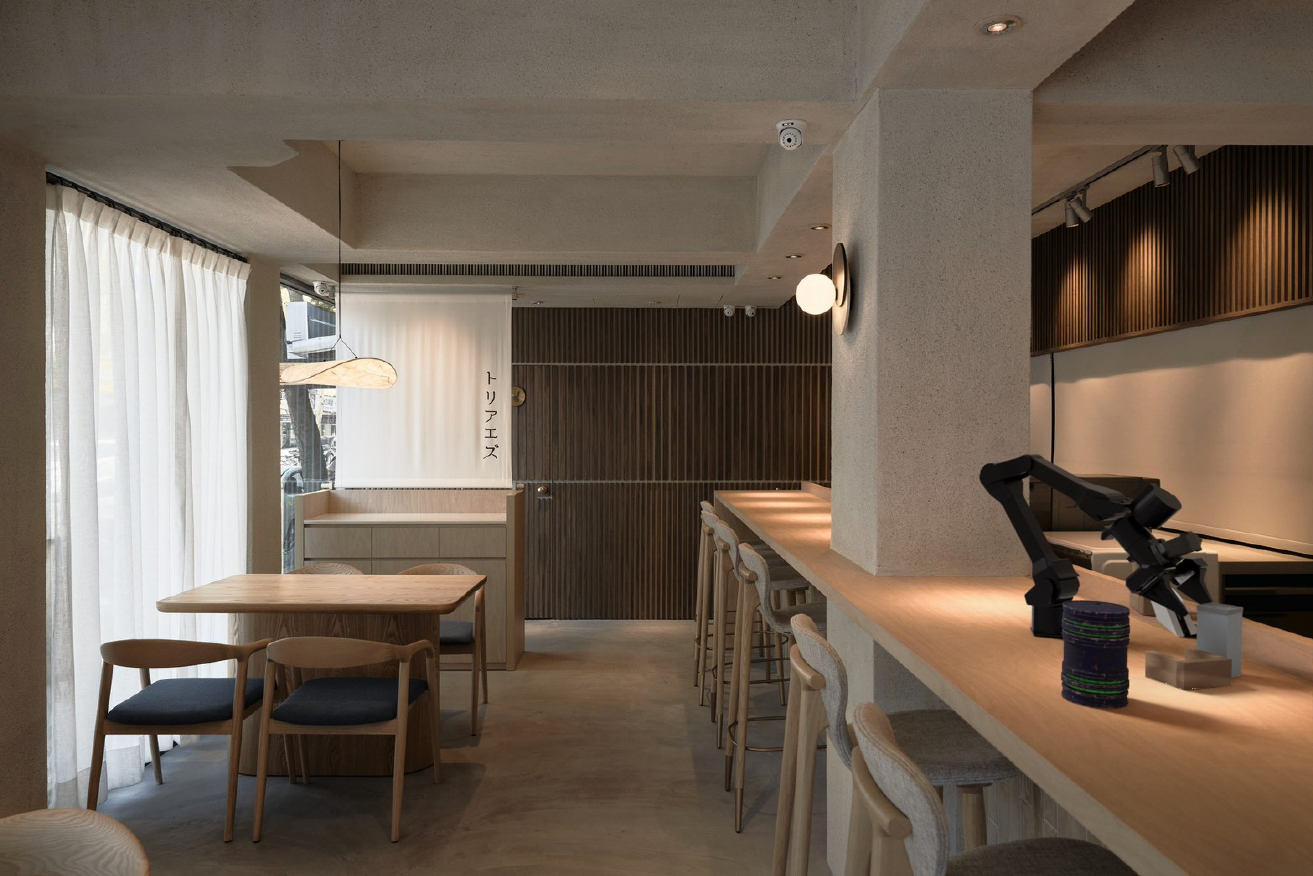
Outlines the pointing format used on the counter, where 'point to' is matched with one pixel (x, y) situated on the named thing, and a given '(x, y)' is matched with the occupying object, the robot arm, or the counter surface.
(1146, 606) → the wooden block
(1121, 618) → the storage jar
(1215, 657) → the block
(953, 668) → the counter surface
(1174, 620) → the hinge
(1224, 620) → the rail post
